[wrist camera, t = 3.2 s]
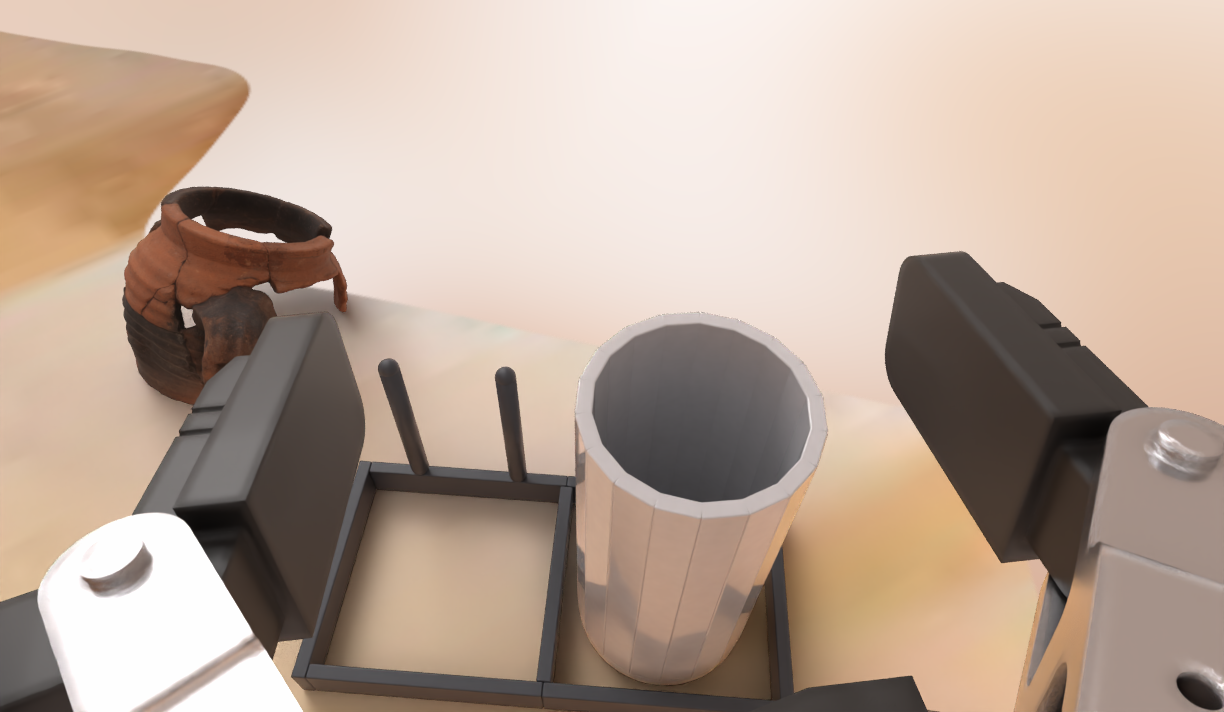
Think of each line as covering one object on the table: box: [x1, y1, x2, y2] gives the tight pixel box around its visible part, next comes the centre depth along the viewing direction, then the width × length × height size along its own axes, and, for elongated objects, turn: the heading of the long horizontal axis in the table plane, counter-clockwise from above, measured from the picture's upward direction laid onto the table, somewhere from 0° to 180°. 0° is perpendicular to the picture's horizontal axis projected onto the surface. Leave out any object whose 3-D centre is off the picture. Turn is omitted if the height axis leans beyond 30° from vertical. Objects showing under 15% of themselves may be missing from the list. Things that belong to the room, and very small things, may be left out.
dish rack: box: [291, 359, 794, 712], centre depth 26 cm, size 17×9×8 cm, turn 86°
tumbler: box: [575, 312, 828, 685], centre depth 25 cm, size 6×6×13 cm
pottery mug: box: [122, 187, 348, 405], centre depth 35 cm, size 12×9×8 cm
